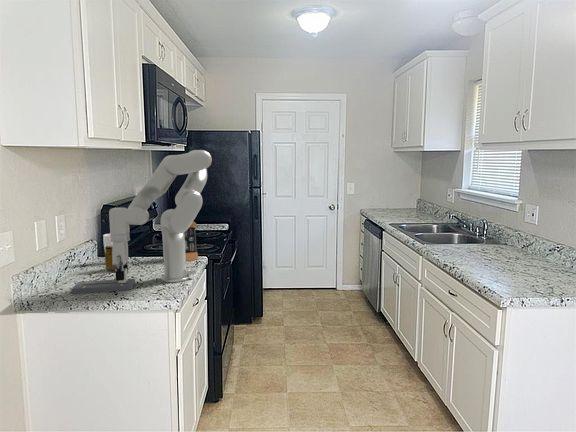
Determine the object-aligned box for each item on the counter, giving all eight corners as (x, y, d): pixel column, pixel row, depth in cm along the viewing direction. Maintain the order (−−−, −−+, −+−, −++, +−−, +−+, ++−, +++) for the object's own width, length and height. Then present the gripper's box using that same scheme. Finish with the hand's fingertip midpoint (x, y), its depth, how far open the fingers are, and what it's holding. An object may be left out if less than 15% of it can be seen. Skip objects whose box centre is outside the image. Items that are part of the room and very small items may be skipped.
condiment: (107, 268, 207) (106, 244, 205) (125, 268, 208) (124, 244, 206) (102, 272, 200) (101, 248, 198) (121, 272, 200) (119, 247, 199)
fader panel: (135, 282, 183) (134, 278, 183) (131, 289, 174) (131, 284, 173) (78, 286, 179) (78, 281, 179) (71, 293, 169) (71, 288, 169)
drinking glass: (118, 264, 215) (116, 235, 213) (104, 265, 213) (102, 236, 211) (119, 260, 221) (117, 233, 219) (105, 261, 220) (103, 233, 217)
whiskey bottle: (198, 259, 223) (196, 200, 219) (179, 261, 219) (177, 201, 215) (193, 255, 233) (191, 198, 228) (175, 257, 228) (173, 199, 224)
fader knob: (127, 279, 180) (127, 268, 179) (126, 282, 176) (125, 271, 175) (120, 280, 179) (119, 268, 179) (118, 283, 175) (117, 271, 174)
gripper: (114, 233, 182) (116, 272, 185) (106, 241, 165) (108, 283, 168) (132, 233, 184) (134, 271, 186) (126, 241, 167) (128, 282, 169)
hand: (122, 277), depth 177 cm, fingers open, 9 cm apart
